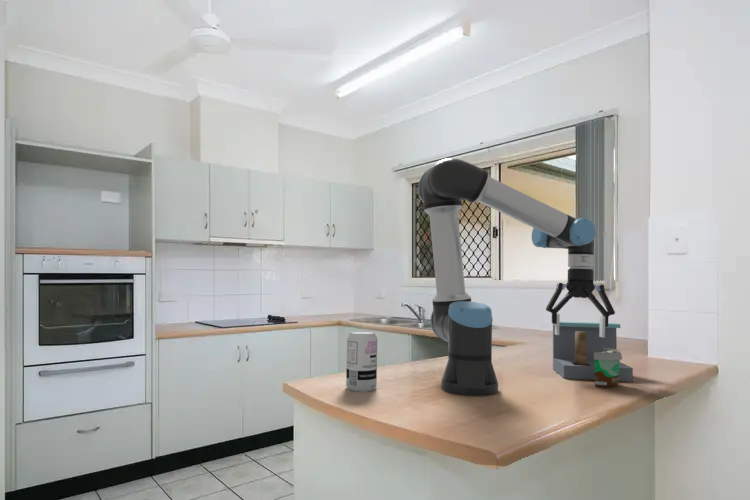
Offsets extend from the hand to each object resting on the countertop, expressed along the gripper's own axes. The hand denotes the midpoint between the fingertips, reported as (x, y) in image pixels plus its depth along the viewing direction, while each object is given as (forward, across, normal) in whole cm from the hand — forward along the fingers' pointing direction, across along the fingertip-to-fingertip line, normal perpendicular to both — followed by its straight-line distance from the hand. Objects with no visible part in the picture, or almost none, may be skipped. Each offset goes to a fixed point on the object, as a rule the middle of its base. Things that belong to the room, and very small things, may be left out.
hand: (579, 336), depth 151 cm
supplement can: (+15, -64, -29) cm, 72 cm away
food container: (+13, +6, -11) cm, 18 cm away
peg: (+13, +1, 0) cm, 13 cm away
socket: (+13, +5, +4) cm, 14 cm away
